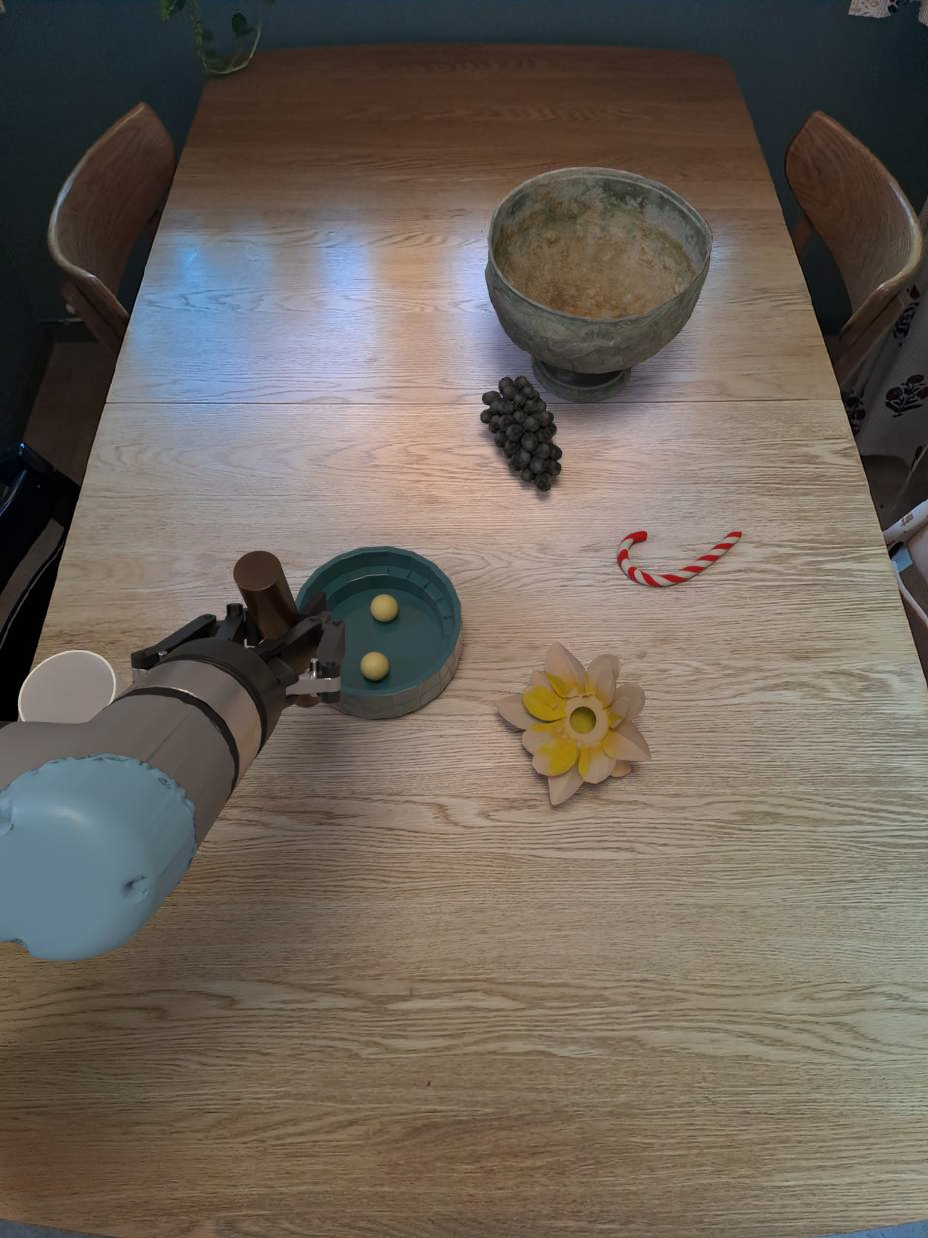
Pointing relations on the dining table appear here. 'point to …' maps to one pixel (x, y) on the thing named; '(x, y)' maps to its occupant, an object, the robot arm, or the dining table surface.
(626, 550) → the candy cane
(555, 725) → the decorative flower
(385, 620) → the bead
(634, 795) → the dining table surface
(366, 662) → the bead
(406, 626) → the teal bowl
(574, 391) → the decorative bowl
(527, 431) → the fruit
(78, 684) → the cup
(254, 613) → the brown wooden dowel
